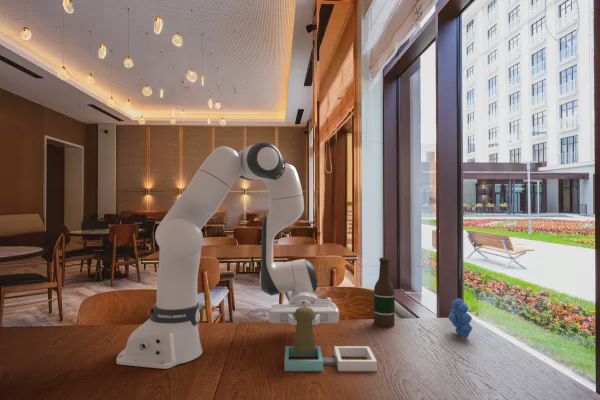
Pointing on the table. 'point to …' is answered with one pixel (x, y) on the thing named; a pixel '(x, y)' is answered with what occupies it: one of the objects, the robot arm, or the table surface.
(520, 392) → the table surface
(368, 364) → the white socket
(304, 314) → the olive pawn
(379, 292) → the beer bottle
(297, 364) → the teal socket
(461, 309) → the grapes
